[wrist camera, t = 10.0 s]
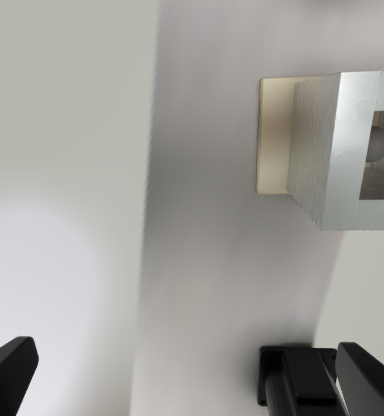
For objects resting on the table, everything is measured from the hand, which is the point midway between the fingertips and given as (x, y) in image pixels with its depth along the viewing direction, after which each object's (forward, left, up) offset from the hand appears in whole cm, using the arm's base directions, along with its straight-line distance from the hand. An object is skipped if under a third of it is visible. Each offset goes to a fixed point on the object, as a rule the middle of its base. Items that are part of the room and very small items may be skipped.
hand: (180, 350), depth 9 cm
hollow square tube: (+4, -9, -12) cm, 16 cm away
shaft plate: (+4, -9, -13) cm, 16 cm away
